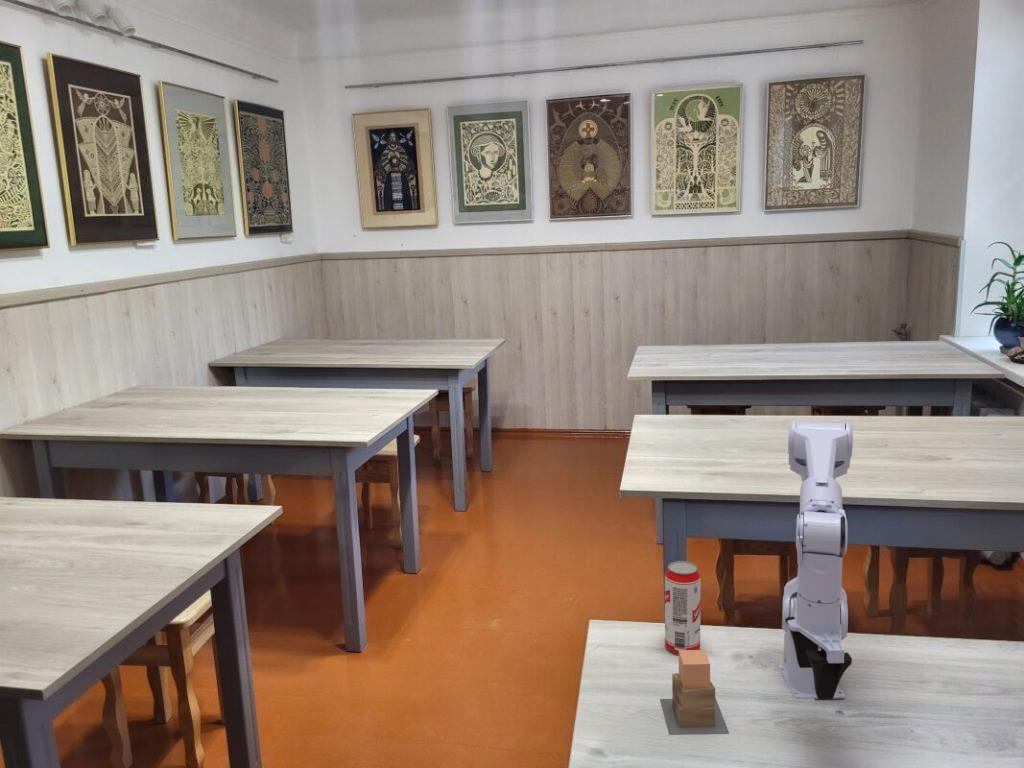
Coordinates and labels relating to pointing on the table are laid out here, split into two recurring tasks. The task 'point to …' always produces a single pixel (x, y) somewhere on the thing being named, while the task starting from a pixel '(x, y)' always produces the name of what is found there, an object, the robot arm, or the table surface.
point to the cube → (694, 669)
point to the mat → (676, 730)
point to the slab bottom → (693, 715)
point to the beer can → (682, 607)
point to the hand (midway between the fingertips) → (815, 681)
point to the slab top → (692, 694)
